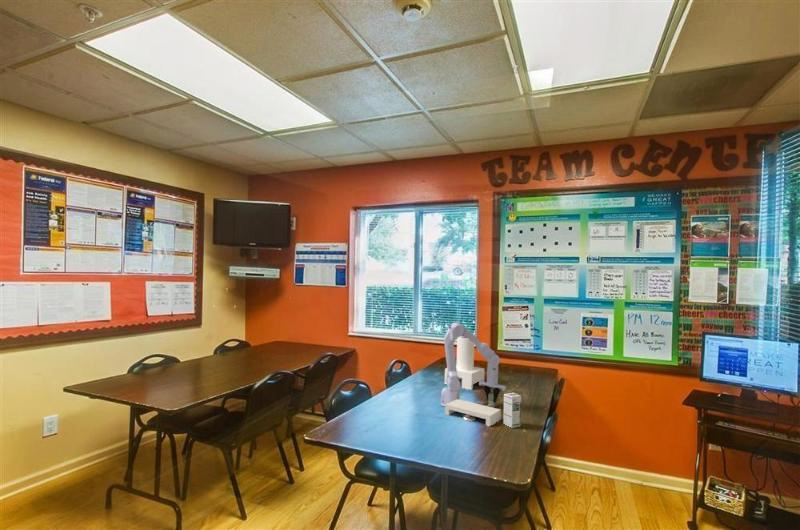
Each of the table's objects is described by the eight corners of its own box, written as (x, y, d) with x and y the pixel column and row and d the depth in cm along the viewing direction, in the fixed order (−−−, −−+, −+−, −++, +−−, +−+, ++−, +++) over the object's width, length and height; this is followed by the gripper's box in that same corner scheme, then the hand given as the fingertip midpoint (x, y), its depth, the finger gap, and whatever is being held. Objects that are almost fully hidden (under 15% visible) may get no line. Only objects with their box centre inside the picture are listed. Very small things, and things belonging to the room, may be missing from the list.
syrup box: (511, 428, 187) (512, 396, 187) (502, 424, 192) (503, 393, 193) (520, 426, 190) (521, 395, 190) (512, 422, 195) (512, 391, 195)
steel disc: (459, 418, 198) (459, 416, 198) (468, 416, 201) (468, 414, 201) (469, 423, 193) (469, 420, 193) (477, 420, 197) (477, 418, 197)
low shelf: (445, 414, 203) (445, 404, 203) (457, 408, 212) (457, 399, 213) (489, 426, 188) (490, 415, 188) (500, 419, 198) (500, 409, 198)
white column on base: (458, 378, 275) (459, 334, 275) (484, 384, 264) (485, 337, 264) (444, 384, 260) (445, 337, 260) (471, 390, 249) (472, 340, 249)
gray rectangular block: (487, 404, 221) (488, 391, 221) (498, 407, 217) (498, 394, 217) (469, 414, 204) (469, 400, 204) (479, 417, 200) (480, 403, 200)
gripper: (508, 376, 217) (507, 402, 216) (483, 372, 226) (482, 396, 225) (503, 379, 211) (502, 405, 211) (477, 374, 220) (476, 399, 220)
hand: (491, 401), depth 218 cm, fingers closed on gray rectangular block, 3 cm apart
